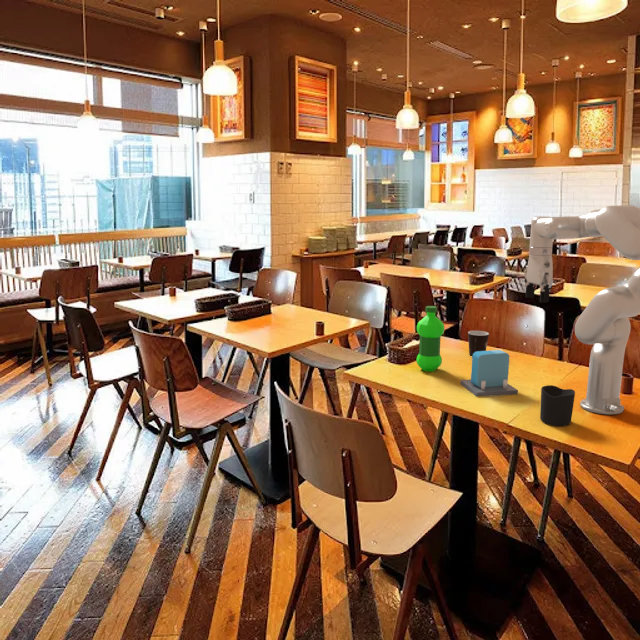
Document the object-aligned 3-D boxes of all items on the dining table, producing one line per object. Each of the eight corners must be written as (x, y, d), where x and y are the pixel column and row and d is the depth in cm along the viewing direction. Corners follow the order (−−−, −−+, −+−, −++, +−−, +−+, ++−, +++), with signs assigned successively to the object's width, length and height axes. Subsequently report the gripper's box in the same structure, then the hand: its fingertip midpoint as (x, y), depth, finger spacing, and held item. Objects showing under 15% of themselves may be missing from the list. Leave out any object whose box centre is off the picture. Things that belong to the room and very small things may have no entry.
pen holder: (561, 415, 185) (564, 384, 183) (578, 426, 176) (581, 394, 174) (533, 416, 184) (535, 385, 182) (548, 428, 175) (551, 396, 173)
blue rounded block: (500, 381, 213) (503, 349, 210) (507, 385, 208) (510, 352, 206) (470, 384, 210) (472, 351, 207) (476, 388, 206) (478, 354, 203)
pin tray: (517, 394, 204) (518, 381, 203) (476, 396, 202) (477, 384, 201) (498, 381, 218) (499, 370, 217) (460, 384, 215) (460, 372, 214)
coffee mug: (474, 352, 258) (476, 329, 256) (491, 356, 252) (493, 333, 250) (458, 356, 251) (459, 333, 249) (475, 361, 244) (476, 337, 242)
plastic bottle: (442, 374, 227) (446, 309, 222) (415, 372, 228) (417, 308, 223) (441, 366, 237) (444, 305, 231) (415, 365, 238) (417, 304, 233)
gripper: (564, 254, 201) (559, 304, 205) (537, 249, 218) (533, 295, 221) (543, 254, 200) (539, 304, 203) (518, 250, 216) (515, 296, 220)
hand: (536, 300), depth 212 cm, fingers open, 9 cm apart
